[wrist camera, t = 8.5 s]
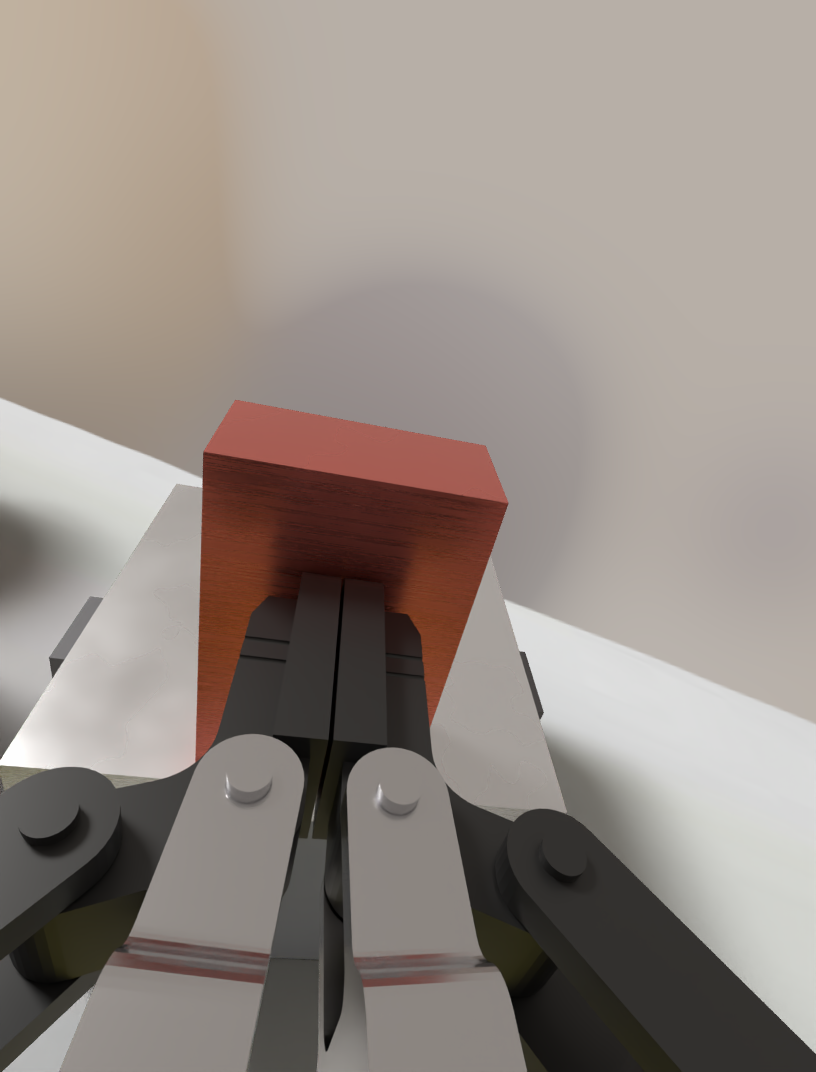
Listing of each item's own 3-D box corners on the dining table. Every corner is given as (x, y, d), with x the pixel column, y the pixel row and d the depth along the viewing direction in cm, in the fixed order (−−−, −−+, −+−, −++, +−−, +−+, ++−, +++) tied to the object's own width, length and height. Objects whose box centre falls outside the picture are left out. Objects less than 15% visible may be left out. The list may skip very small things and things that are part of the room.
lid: (550, 839, 15) (728, 547, 10) (6, 798, 13) (-95, 410, 8) (476, 555, 26) (544, 351, 21) (176, 509, 24) (176, 272, 19)
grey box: (511, 966, 19) (602, 835, 15) (-5, 946, 17) (-63, 784, 13) (463, 680, 30) (508, 559, 26) (144, 643, 28) (138, 502, 24)
